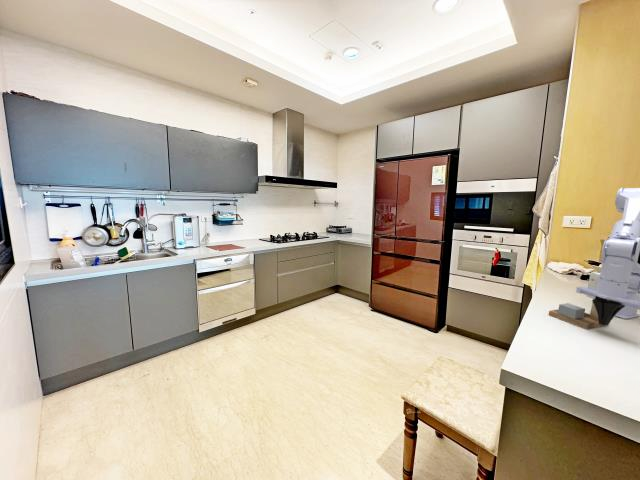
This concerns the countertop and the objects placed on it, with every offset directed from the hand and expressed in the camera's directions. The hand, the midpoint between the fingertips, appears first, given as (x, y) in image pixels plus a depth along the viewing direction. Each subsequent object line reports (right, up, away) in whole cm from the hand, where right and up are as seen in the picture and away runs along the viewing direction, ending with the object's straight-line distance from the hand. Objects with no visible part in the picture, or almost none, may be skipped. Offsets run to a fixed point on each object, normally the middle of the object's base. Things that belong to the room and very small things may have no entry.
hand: (603, 324), depth 76 cm
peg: (+4, 0, +6) cm, 7 cm away
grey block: (-2, 0, +8) cm, 8 cm away
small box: (+31, 0, +29) cm, 42 cm away
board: (0, -1, +8) cm, 8 cm away
